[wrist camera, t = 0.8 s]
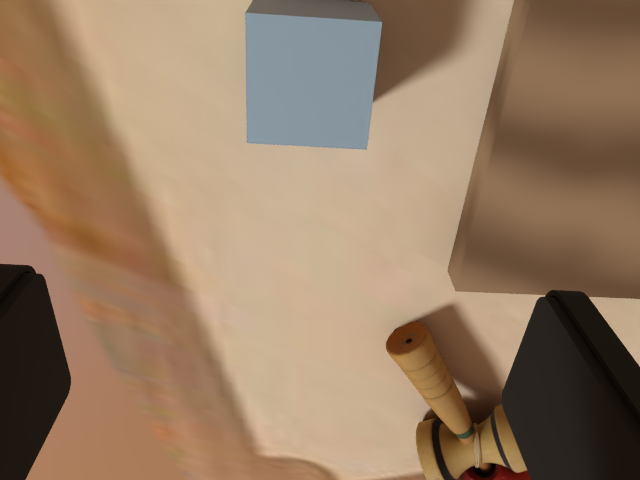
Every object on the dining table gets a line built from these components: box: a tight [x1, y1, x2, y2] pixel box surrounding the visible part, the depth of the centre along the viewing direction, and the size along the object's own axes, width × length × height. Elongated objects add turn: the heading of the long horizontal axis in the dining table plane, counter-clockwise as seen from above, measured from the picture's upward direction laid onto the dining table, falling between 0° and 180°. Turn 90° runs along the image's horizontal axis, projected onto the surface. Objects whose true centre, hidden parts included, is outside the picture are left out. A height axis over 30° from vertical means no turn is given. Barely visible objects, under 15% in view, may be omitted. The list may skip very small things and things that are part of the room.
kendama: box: [386, 322, 531, 480], centre depth 36 cm, size 8×6×18 cm
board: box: [448, 0, 640, 299], centre depth 26 cm, size 18×14×2 cm
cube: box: [245, 0, 382, 150], centre depth 22 cm, size 5×5×5 cm
